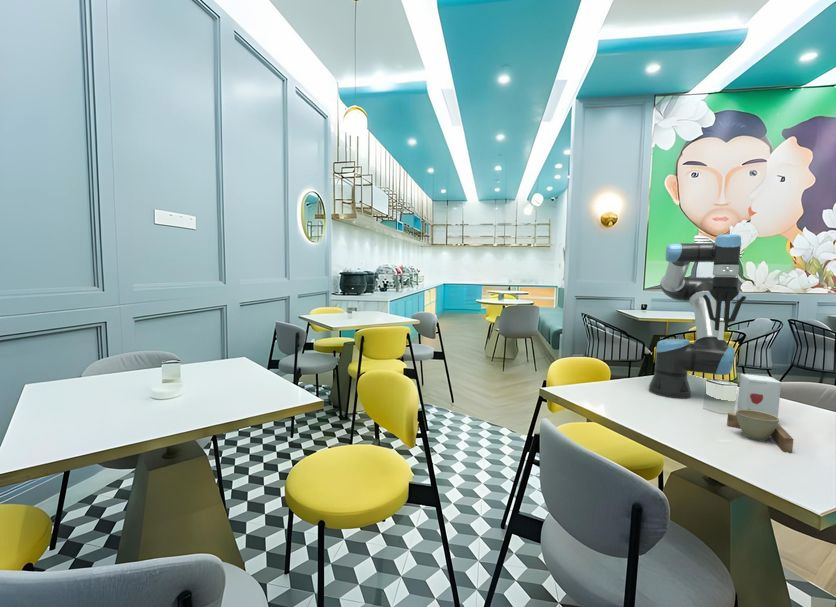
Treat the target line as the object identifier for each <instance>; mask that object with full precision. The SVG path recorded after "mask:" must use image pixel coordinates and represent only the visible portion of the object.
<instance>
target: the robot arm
mask: <svg viewBox="0 0 836 607" xmlns="http://www.w3.org/2000/svg"><path fill="white" fill-rule="evenodd" d="M741 246H742V236H741V235H740V234H733V233H731V234H729V233H728V234H719V235H717V236H716V237H715V241H714V242H707V243H706V242H702V243H701V242H699V243H698V242H697V243H695V242H694V243H693V242H691V243H688V242H687V243H686V242H685V243H682V242H681V243H679V242H678V243H669V244H667V245H666V247H665V248H666V249H665V261H666V262H668V264H667V267H666V270H665V275H663V276H662V277H661V279H660V283H659V284H660V289H661V291H662V292H663V294H665V296H667V297H668V298H671V299H672V300H675V301H680V302H681V301H683V302H688V303H689V305H690V306H691V307H693V311H694V319H695V320H694V322H695V332H696V340H695V341H694V342H693V343H691V342H690V340H689V339H685V338H684V339H681V338H668V339H667V338H666V339H661V340H659V341H657V343H656V348H655V362H654V363H655V365H654V375H653V377H652V379H651V381H650V383H649V385H648V391H649V392H650V393H652V394H654V395H655V394H656V395H658V396H662V397H667V398H673V399H690V398H691V397H692V390H691V386H690V384H689V380H688V372H693V373H702V374H710V375H711V374H713V375H716V376H717V375H721V376H723V375H724V376H727V375H729V374H730V373H731V371H732V370H733V366H734V360H735V353H736V352H735V351H736V350H735V348H734V347H733V346H728V342H727V341H726V340H725V339H724V338H725V337H724V335H725V332H728V330H729V324H730V323H731V322H735V321H736V319H737V317H738V313H739V311H740V308H741V307H742V304H743V302H744V301H745V300H746V299H747V297H746V296H745V295H742V294H741V293H740V291H739V290H738V284H739V278H738V276H739V271H740V259H741ZM691 263H713V266H712V267H713V268H712V269H713V270H712V276H713V277H712V276H708V277H704V276H703V277H701V276H699V277H697V276H686V275H687V272H688V270H689V266H690V265H691ZM735 298H736V302H735V305H734V308H733V309H732V313H731V314H730V308H731V302H732V301H733V300H734V299H735ZM722 302H724V308H723V309H724V310H723V322H722V321H721V313H722V304H723V303H722Z"/></svg>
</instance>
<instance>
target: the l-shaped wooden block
mask: <svg viewBox="0 0 836 607" xmlns="http://www.w3.org/2000/svg"><path fill="white" fill-rule="evenodd" d="M726 425H727V427H731V428H737V429H741V428H740V426H739V424H738V421H737V416H736V413H732V412H728V413H727V422H726ZM770 438H771V439H772V440H773V442H775V444H776V445H777V447H779V448H780V450H781V451H782V452H784V453H788V454H789V453H790V454H793V449H794V448H793V447H794V438H793V437H792V436H791V435H790V434H789V433H788V432H787V430H785V428H783V427H782V425H781V424H780V423H778V425H777V427H776V429H775V431H774V432H773V433H772V435H771V436H770Z"/></svg>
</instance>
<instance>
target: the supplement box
mask: <svg viewBox="0 0 836 607" xmlns="http://www.w3.org/2000/svg"><path fill="white" fill-rule="evenodd" d="M739 378H740V379H739V386H738V387H739V388H738V398H737V408H736V411H737V410H754V411H759V412H764V413H768V414H771V415H774V416H776V417H778V418H779V410H780V409H779V408H780V395H781V388H782V387H781V386H782V382H781V381H780V380H777V379H776V378H774V377H772V376H765V375H757V374H746V373H740V377H739Z"/></svg>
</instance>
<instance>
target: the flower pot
mask: <svg viewBox="0 0 836 607" xmlns="http://www.w3.org/2000/svg"><path fill="white" fill-rule="evenodd" d="M735 414H736V416H737V421H738V424H739V426H740V428H739V429H740V430H741V432H742V434H743V435H744V436H745V437H746V438H747V439H751V440H754V441H762V442H763V441H764V442H765V441H766V440H768V439H769V438H771V435H772V433H773V432H774V431H775V429H776V427H777V425H778V424H779V421H780V418H779V416H778V417H776V416H774V415H771V414H768V413H764V412H759V411H754V410H737V409H736V411H735Z"/></svg>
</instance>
